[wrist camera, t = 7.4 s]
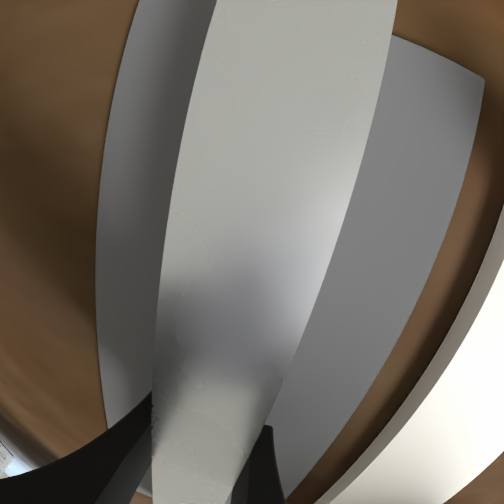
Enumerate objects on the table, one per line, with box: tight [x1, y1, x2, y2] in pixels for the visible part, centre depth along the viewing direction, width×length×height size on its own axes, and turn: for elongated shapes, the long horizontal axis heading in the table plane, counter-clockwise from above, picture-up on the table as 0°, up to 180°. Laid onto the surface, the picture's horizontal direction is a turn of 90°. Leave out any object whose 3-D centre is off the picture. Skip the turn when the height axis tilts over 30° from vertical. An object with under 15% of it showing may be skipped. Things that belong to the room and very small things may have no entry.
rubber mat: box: [95, 0, 485, 504], centre depth 11 cm, size 26×10×1 cm, turn 167°
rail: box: [151, 0, 397, 504], centre depth 10 cm, size 26×3×2 cm, turn 167°
